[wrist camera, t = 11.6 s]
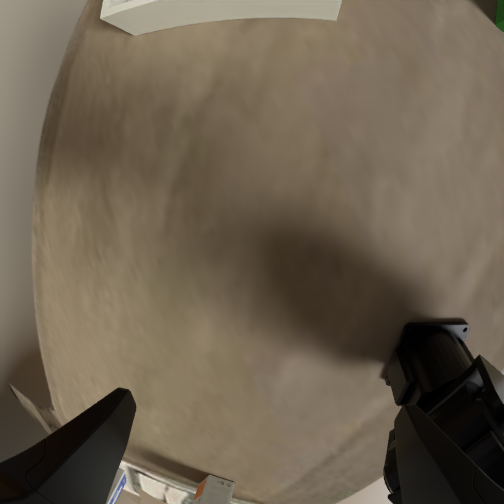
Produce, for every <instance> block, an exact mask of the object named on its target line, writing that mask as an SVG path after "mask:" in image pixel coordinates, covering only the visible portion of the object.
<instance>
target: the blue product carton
mask: <svg viewBox="0 0 504 504" xmlns="http://www.w3.org/2000/svg"><path fill="white" fill-rule="evenodd" d="M125 483H126V477H125V471H124V470H122V469H120V468H118V471H117V473H116V476H115V479H114V482H113V484H112V487H111V490H110V493H109V496H108V498H107V501H106V504H115V503H116V501H117V499H118V497H119V495H120V493H121V491H122V489H123V487H124V485H125Z"/></svg>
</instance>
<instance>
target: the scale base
mask: <svg viewBox="0 0 504 504" xmlns="http://www.w3.org/2000/svg"><path fill="white" fill-rule="evenodd" d="M341 2H342V0H132V1H129V2H127V0H103V5H102V10H101V15H100V19H102V20H104V21H106V22H108V23H110V24H112V25H114V26H116V27H118V28H120V29H122V30H124V31H126V32H128V33H130V34H132V35H134V36H137V35H141V34H145V33H149V32H154V31H158V30H163V29H168V28H173V27H178V26H184V25H190V24H197V23H204V22H212V21H221V20H232V19H247V18H308V19H323V20H334V21H336V20H337V17H338V13H339V9H340V6H341Z"/></svg>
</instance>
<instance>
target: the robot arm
mask: <svg viewBox="0 0 504 504" xmlns="http://www.w3.org/2000/svg"><path fill="white" fill-rule="evenodd" d="M410 328H412V329H411V330H409V331H408V329H410ZM464 328H465V329H464ZM469 329H470V326H469V325H468V323H467V322H450V323H408V324H406V325H405V326H404V328H403V331H402V334H401V337H400V340H399V343H398V346H397V347H396V348H395V349H394V352H393V355H392V358H391V360H390V363H389V366H388V368H387V376H386V378H385V382H386V385H388V386H391V389H392V392H393V396H394V400H395V404H396V405H397V406H402V407H401V409H400V411H399V413H398V415H397V416H396V418H395V422H394V429H393V430H391V431H390V433H389V440H388V447H387V454H386V460H385V465H384V469H383V471H384V480H385V484H386V486H387V488H388V490H389V492H390V493H391V494H389V495H388V499H389V500H390V501H391V502H392V503H393V504H504V375H503V374H502V373H501V372H500V371H498V370H497V369H496V368H495V367H494V366H493V365H491V364H490V363H489V362H488V361H487V360H486V359H484V358H483V357H482V356H481V355H480V354H479V355H478V356H477V357H476V359H474V358H473V356H472V354H471V353H470V351H469V350H468V348H467V346H466V345H465V343H464V341H465V339H466V337H467V334H468V332H469ZM135 412H136V403H135V401H134V398H133V396H132V394H131V391H130V390H128V389H125V388H117V389H115V390H114V391H112V392H111V393H110V394H108V395H107V396H105V397H104V398H103V399H101V400H100V401H98V402H97V403H95V404H94V405H93V406H91V407H90V408H88V409H87V410H85V411H84V412H83V413H81V414H80V415H78V416H77V417H75V418H74V419H72V420H71V421H69V422H68V423H67V424H65V425H64V426H62V427H61V428H59V429H58V430H56V431H55V432H53V433H52V434H50V435H49V436H47V437H46V438H44V439H43V440H41V441H40V442H38V443H37V444H35V445H33V446H32V447H30V448H28V449H27V450H25V451H23V452H21V453H19V454H17V455H15V456H13V457H11V458H9V459H7V460H5V461H2V462H1V463H0V504H106V501H107V498H108V496H109V493H110V490H111V487H112V484H113V482H114V479H115V476H116V473H117V471H118V468H119V465H120V463H121V460H122V457H123V455H124V452H125V449H126V446H127V443H128V440H129V436H130V432H131V428H132V424H133V420H134V416H135Z"/></svg>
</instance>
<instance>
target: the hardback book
mask: <svg viewBox="0 0 504 504" xmlns="http://www.w3.org/2000/svg"><path fill="white" fill-rule="evenodd" d="M495 25H496V26H497V27H498V28H499V29H500V30H502V31H503V32H504V0H497V11H496V19H495Z"/></svg>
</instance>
